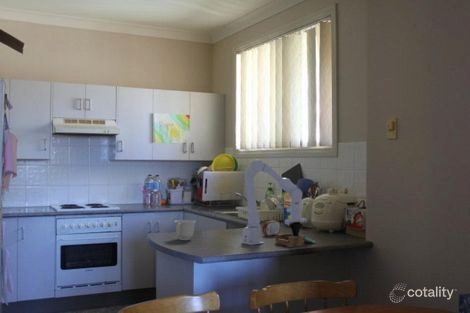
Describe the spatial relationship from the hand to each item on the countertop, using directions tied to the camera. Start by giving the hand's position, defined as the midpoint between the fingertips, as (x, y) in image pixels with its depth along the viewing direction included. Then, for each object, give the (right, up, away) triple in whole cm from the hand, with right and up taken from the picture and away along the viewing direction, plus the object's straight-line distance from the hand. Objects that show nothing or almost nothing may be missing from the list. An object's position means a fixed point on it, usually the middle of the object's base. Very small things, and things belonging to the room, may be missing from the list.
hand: (295, 236), depth 269 cm
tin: (-10, -4, +30) cm, 32 cm away
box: (-3, -4, -3) cm, 6 cm away
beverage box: (+7, -4, +77) cm, 77 cm away
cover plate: (+4, -2, +4) cm, 6 cm away
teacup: (-60, -3, +8) cm, 60 cm away
